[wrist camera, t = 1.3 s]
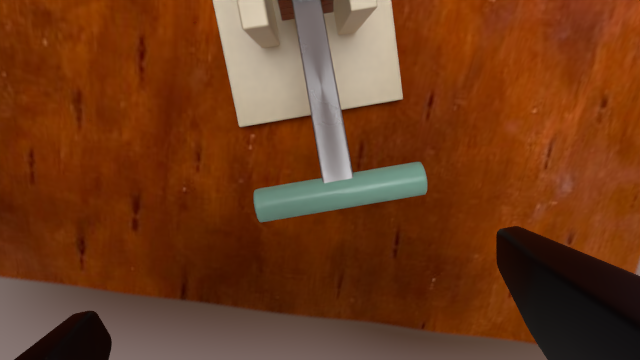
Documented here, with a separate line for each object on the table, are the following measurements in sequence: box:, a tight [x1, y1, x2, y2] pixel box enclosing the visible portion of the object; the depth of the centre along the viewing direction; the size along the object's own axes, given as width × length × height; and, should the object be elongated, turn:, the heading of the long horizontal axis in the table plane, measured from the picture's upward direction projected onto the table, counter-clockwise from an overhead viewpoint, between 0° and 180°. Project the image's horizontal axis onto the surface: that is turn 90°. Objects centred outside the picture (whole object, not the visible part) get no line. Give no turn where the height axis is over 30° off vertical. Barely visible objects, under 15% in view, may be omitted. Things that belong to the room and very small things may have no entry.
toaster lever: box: [254, 0, 427, 222], centre depth 15 cm, size 11×6×2 cm, turn 9°
